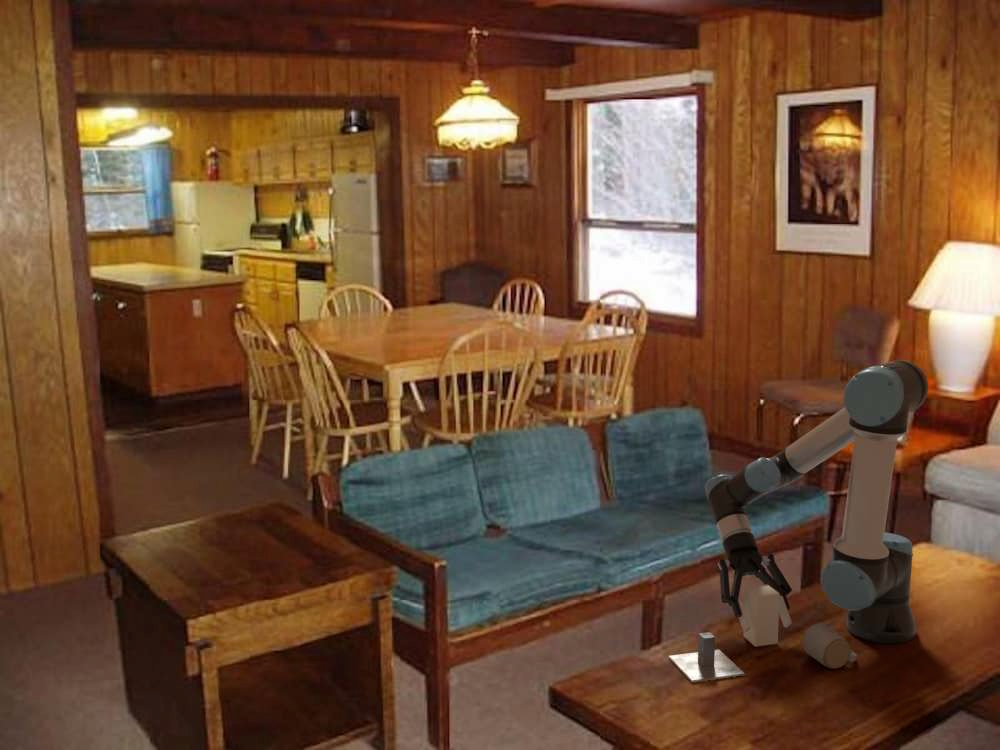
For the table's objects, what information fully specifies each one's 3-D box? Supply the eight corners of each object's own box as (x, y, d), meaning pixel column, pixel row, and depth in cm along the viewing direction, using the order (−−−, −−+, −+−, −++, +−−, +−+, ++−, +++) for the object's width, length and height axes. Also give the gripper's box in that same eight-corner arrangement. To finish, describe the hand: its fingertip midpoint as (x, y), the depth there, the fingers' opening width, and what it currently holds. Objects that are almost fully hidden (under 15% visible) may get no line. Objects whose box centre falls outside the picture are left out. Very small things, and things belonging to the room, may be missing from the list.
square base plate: (719, 651, 236) (719, 621, 234) (744, 675, 224) (745, 643, 223) (668, 658, 233) (669, 627, 232) (692, 683, 221) (692, 650, 220)
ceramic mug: (823, 673, 225) (826, 639, 224) (800, 657, 233) (802, 624, 231) (865, 666, 229) (867, 632, 227) (841, 650, 236) (843, 618, 235)
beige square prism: (765, 633, 245) (767, 584, 243) (777, 643, 240) (779, 593, 237) (743, 636, 244) (745, 587, 241) (755, 646, 238) (756, 596, 236)
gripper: (773, 540, 256) (805, 628, 244) (689, 549, 250) (717, 639, 238) (785, 526, 250) (818, 615, 238) (699, 534, 244) (728, 626, 232)
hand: (767, 627), depth 238 cm, fingers open, 9 cm apart
